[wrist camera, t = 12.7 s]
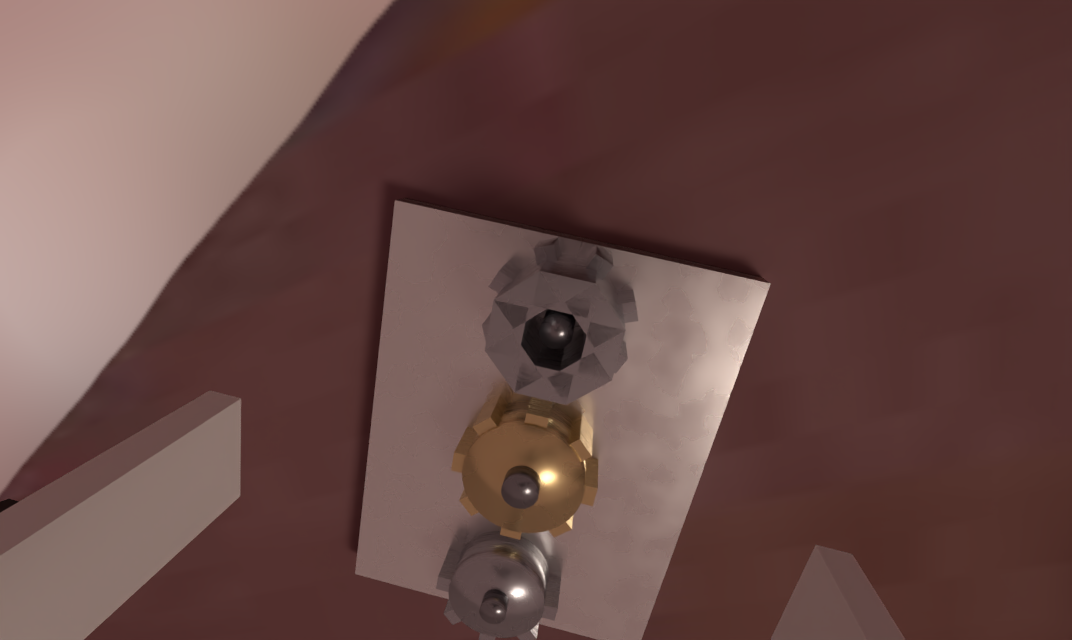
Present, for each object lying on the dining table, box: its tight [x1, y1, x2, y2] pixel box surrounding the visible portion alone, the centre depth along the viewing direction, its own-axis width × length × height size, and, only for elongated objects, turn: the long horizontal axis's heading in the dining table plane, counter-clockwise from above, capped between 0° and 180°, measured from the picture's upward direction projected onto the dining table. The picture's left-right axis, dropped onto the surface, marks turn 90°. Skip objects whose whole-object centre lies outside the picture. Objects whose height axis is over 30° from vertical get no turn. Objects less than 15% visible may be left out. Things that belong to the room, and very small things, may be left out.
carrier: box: [355, 198, 770, 640], centre depth 29 cm, size 26×20×6 cm
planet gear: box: [482, 237, 638, 405], centre depth 25 cm, size 8×8×5 cm
